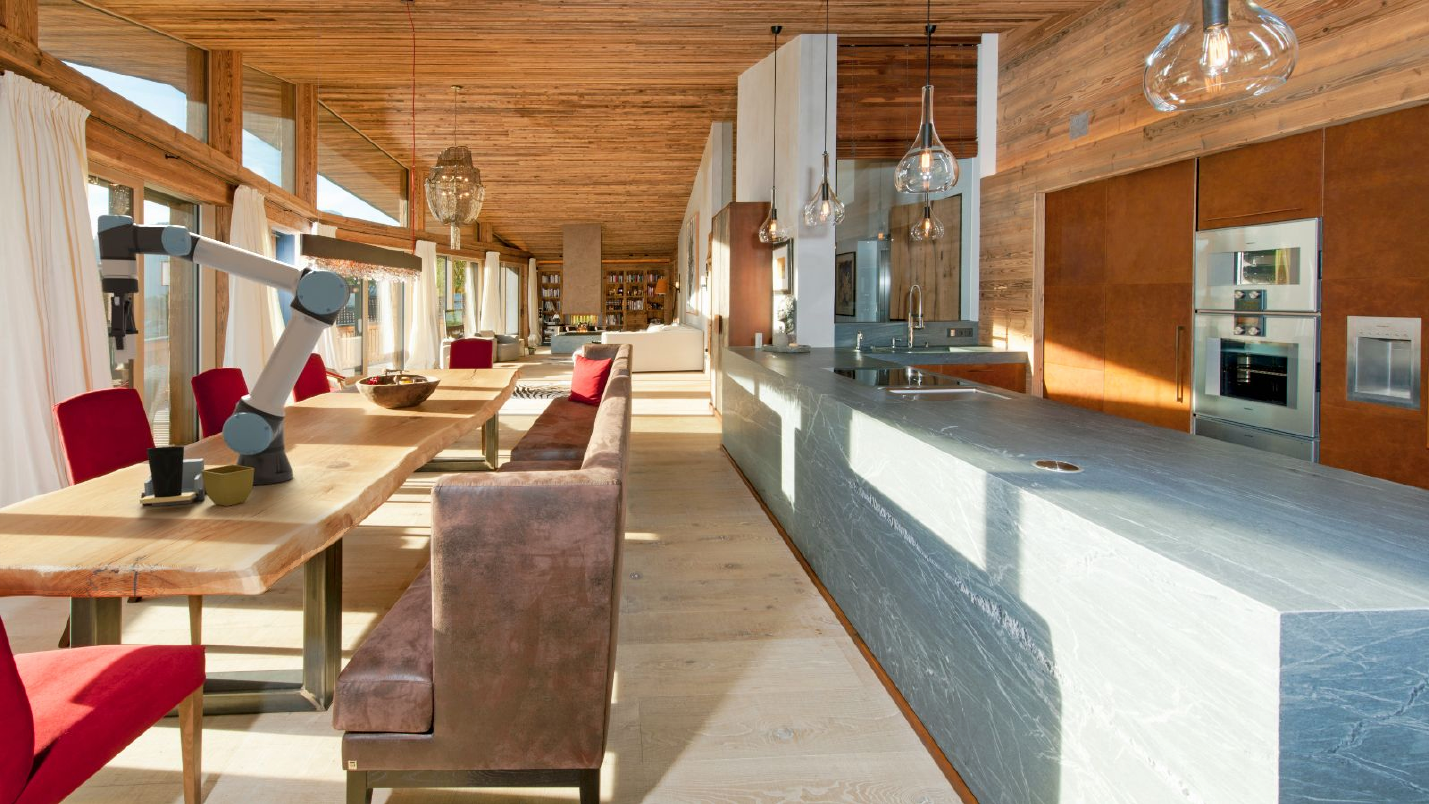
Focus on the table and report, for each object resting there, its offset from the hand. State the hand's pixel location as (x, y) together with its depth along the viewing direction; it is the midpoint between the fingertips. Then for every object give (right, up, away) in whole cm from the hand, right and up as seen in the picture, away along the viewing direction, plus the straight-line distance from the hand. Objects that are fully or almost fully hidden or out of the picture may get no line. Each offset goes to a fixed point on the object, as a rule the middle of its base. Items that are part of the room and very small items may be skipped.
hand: (126, 361), depth 212 cm
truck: (+11, -36, +3) cm, 38 cm away
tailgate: (+14, -34, -3) cm, 37 cm away
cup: (+16, -34, -8) cm, 38 cm away
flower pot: (+27, -37, -1) cm, 46 cm away
